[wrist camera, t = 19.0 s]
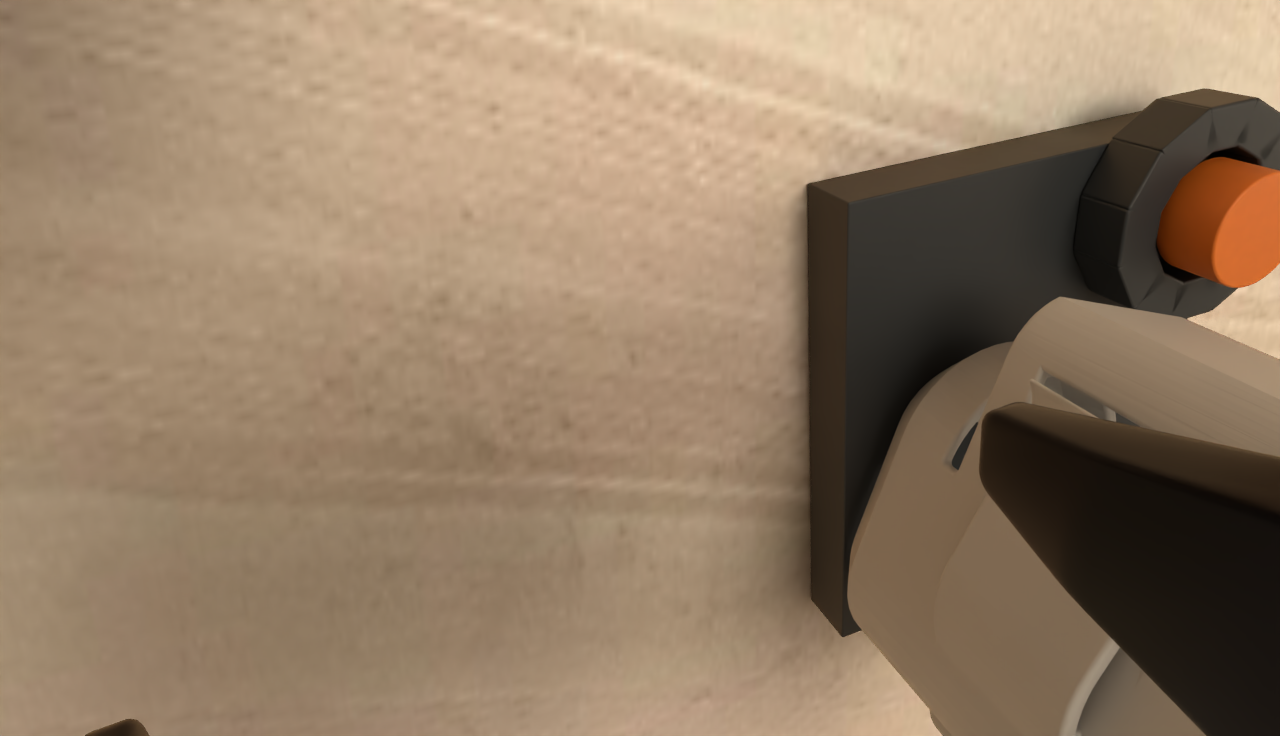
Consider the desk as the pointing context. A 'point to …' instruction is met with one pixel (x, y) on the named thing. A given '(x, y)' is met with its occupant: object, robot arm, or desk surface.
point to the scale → (986, 274)
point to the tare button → (1223, 222)
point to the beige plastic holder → (995, 551)
